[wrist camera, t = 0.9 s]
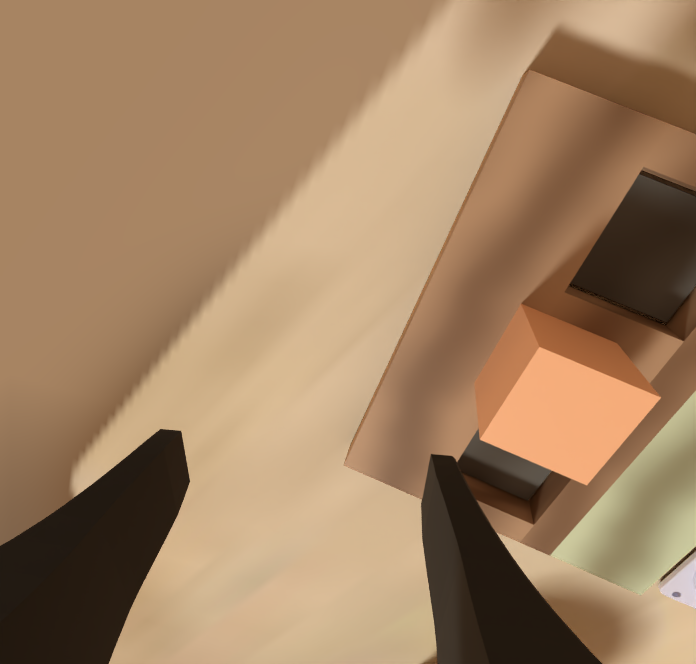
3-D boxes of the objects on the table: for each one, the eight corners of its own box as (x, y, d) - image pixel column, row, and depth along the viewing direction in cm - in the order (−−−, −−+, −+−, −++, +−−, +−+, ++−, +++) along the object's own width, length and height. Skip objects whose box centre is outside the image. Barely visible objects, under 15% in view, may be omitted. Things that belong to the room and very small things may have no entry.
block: (617, 343, 21) (661, 397, 17) (560, 419, 24) (586, 485, 19) (520, 303, 22) (539, 346, 17) (474, 383, 24) (479, 439, 19)
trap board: (961, 246, 19) (1015, 258, 17) (629, 567, 29) (641, 595, 27) (522, 75, 20) (529, 69, 18) (350, 445, 30) (343, 465, 28)
